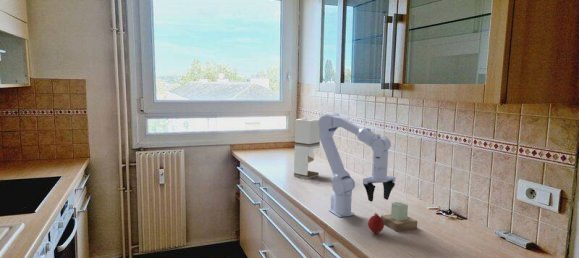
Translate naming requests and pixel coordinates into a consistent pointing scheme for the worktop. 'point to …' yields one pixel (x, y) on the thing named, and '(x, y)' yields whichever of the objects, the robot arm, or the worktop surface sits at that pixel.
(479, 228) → the worktop surface
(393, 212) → the sage block
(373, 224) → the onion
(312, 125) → the white coffee machine
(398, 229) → the walnut base
